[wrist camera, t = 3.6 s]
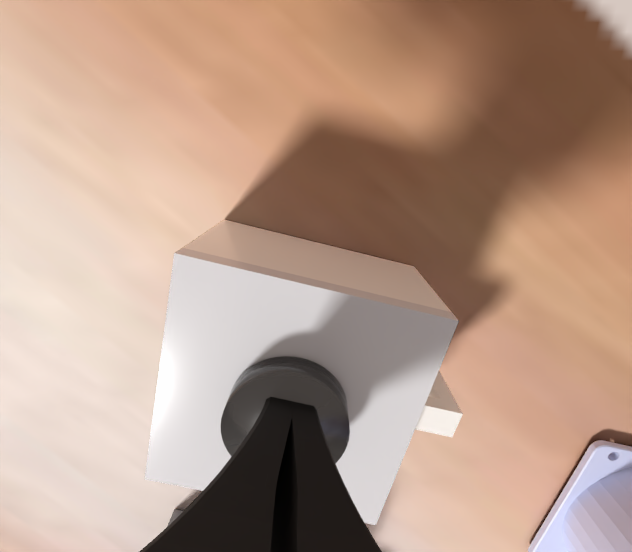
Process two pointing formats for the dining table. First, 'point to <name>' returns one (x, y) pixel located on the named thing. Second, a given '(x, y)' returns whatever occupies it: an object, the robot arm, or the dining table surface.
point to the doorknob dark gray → (289, 384)
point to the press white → (299, 350)
